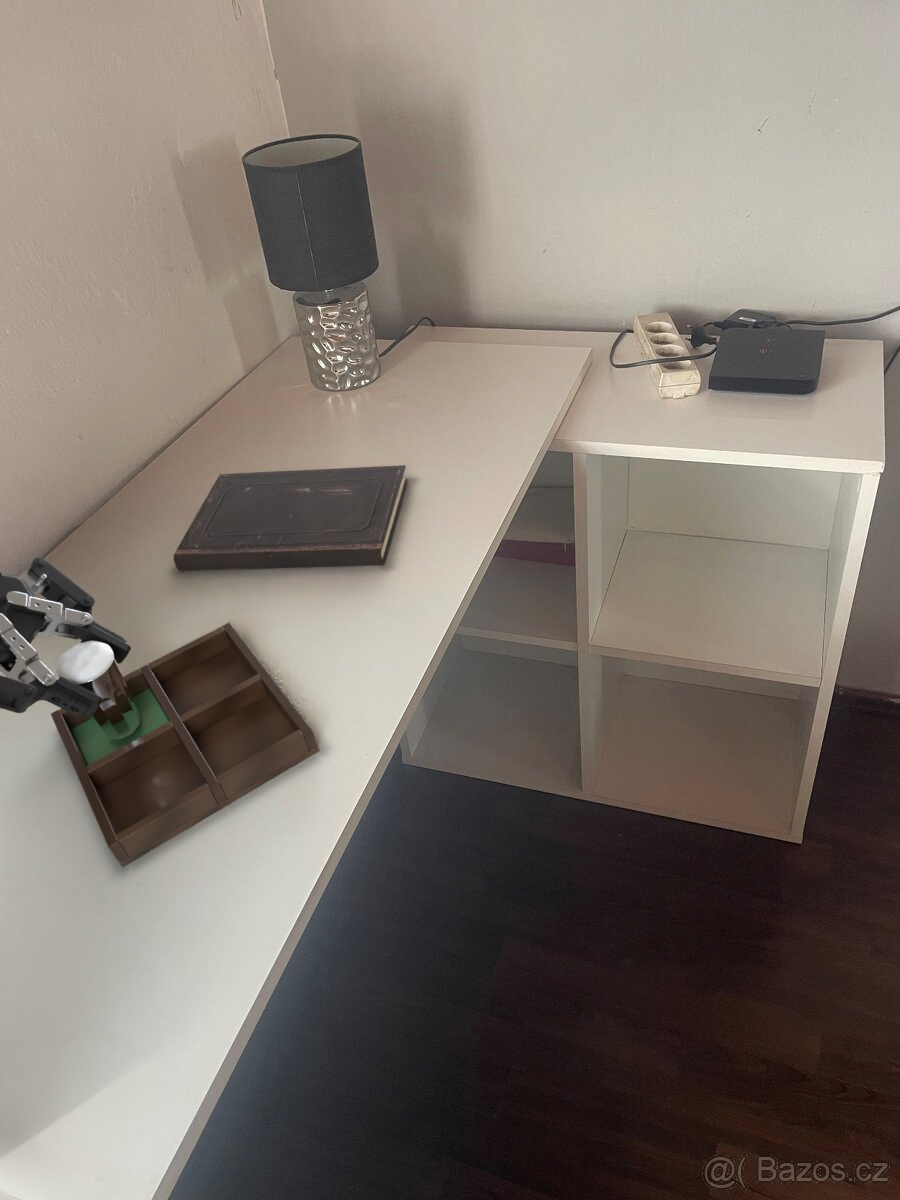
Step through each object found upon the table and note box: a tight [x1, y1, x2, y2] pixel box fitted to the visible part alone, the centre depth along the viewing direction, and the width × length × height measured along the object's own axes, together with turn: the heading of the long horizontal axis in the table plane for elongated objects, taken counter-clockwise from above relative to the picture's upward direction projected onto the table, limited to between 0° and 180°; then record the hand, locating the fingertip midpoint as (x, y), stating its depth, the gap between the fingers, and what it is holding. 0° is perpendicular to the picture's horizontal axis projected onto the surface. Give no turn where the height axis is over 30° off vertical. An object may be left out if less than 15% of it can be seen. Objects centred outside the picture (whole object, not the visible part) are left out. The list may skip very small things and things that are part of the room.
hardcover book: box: [173, 464, 409, 572], centre depth 97 cm, size 16×23×2 cm
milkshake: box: [52, 641, 140, 740], centre depth 72 cm, size 4×5×10 cm
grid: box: [50, 621, 320, 868], centre depth 74 cm, size 17×17×3 cm
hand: (111, 680), depth 71 cm, fingers closed on milkshake, 5 cm apart
